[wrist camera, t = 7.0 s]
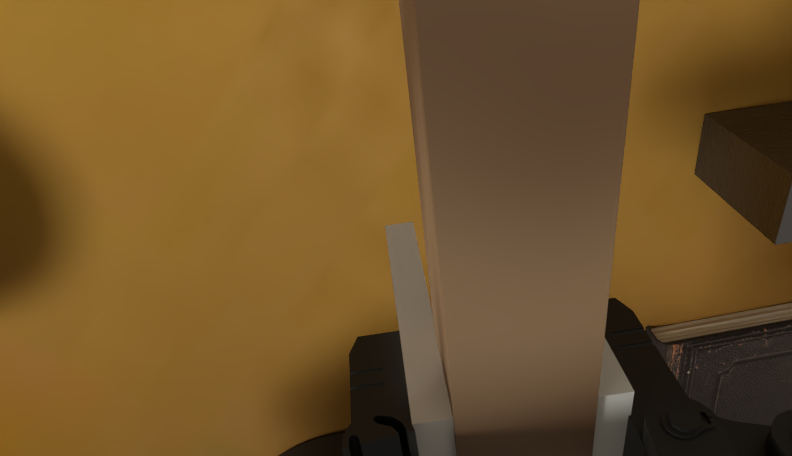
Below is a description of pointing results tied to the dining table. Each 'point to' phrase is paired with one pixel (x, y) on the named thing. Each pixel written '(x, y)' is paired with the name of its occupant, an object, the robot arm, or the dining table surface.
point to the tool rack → (751, 165)
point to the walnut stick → (520, 207)
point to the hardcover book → (733, 362)
